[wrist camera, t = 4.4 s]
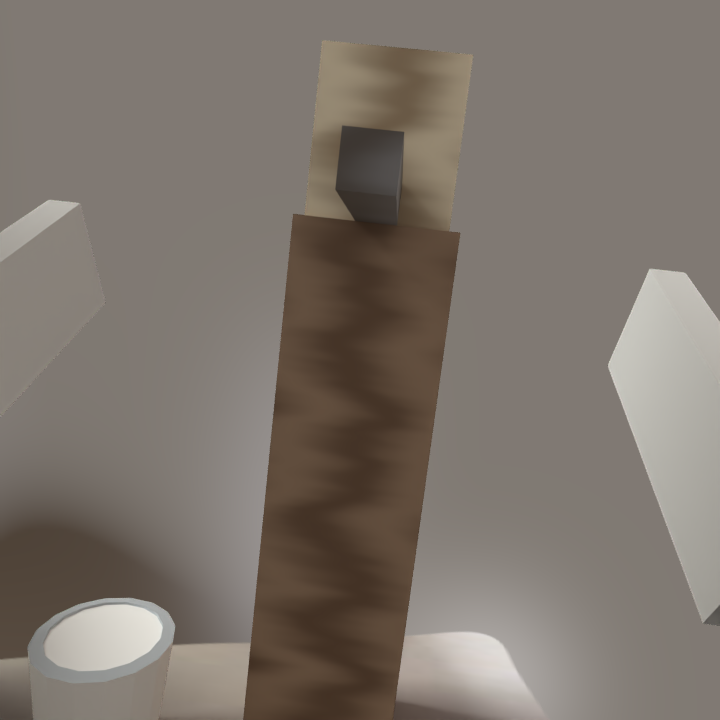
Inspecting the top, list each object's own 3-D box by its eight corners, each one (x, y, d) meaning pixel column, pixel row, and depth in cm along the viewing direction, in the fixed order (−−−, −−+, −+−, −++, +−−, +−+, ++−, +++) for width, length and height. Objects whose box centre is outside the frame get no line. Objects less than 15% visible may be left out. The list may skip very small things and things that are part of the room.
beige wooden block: (259, 181, 18) (283, -86, 17) (320, 227, 32) (335, 82, 31) (474, 204, 18) (512, -67, 17) (440, 241, 32) (460, 95, 31)
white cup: (140, 821, 26) (149, 687, 25) (-10, 810, 26) (-5, 674, 25) (182, 710, 33) (191, 601, 32) (64, 701, 33) (69, 590, 32)
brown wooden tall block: (240, 752, 31) (293, 213, 27) (265, 678, 36) (311, 227, 32) (384, 776, 30) (460, 232, 26) (386, 697, 36) (449, 242, 32)
